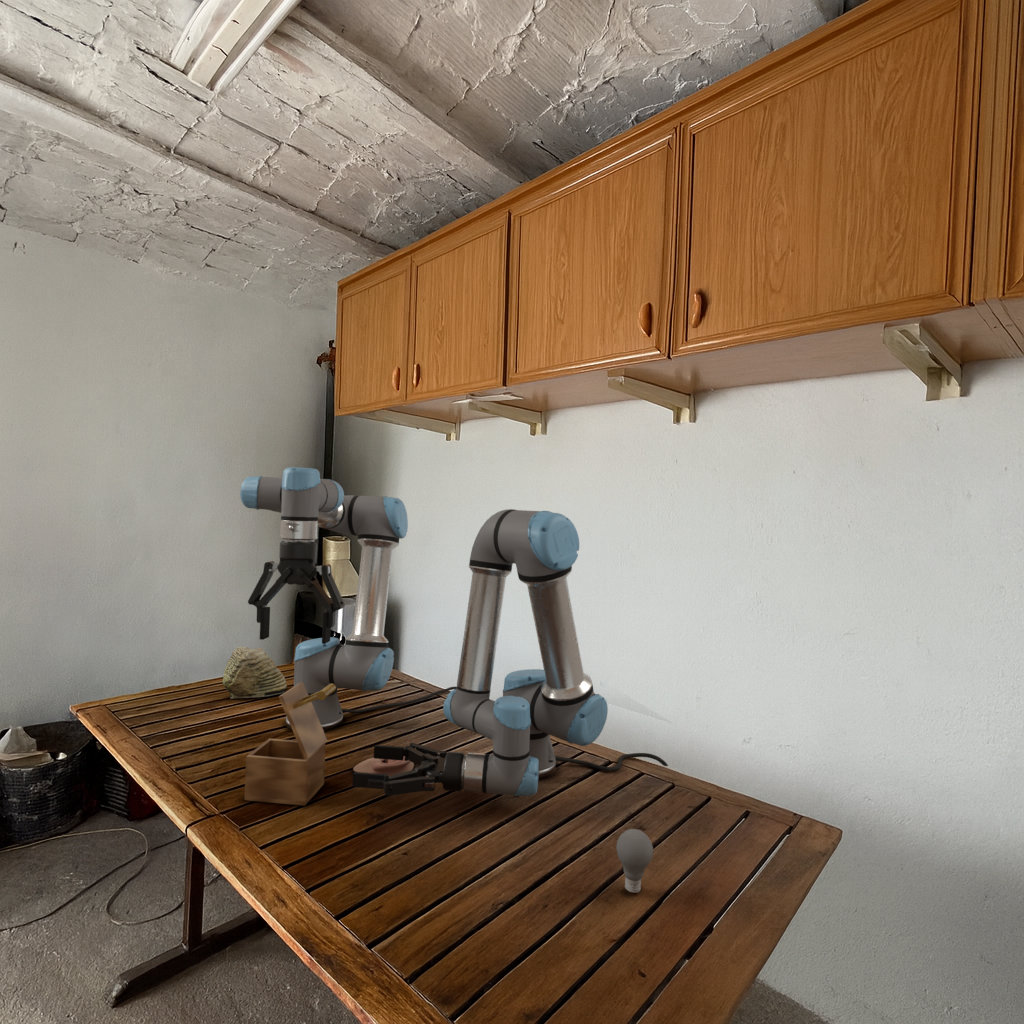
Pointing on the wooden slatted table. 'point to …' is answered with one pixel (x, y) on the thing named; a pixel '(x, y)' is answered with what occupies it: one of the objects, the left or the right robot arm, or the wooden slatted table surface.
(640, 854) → the light bulb
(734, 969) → the wooden slatted table surface
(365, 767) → the anatomical model
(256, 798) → the chest
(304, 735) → the lid
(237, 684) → the fossil
